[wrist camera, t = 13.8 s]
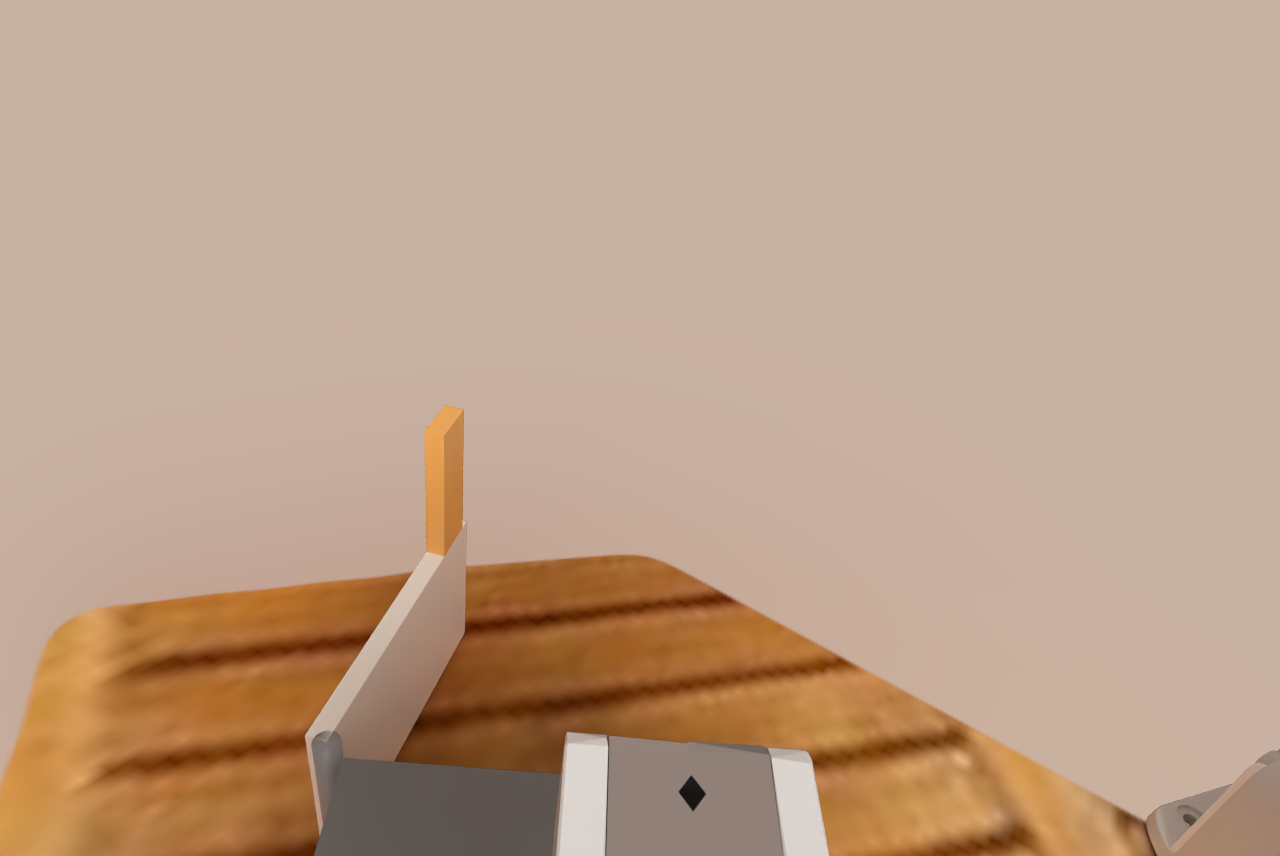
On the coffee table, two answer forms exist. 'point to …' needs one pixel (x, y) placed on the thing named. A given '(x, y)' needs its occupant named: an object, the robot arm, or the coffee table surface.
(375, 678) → the thin white panel
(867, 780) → the coffee table surface
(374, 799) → the gray box camera
